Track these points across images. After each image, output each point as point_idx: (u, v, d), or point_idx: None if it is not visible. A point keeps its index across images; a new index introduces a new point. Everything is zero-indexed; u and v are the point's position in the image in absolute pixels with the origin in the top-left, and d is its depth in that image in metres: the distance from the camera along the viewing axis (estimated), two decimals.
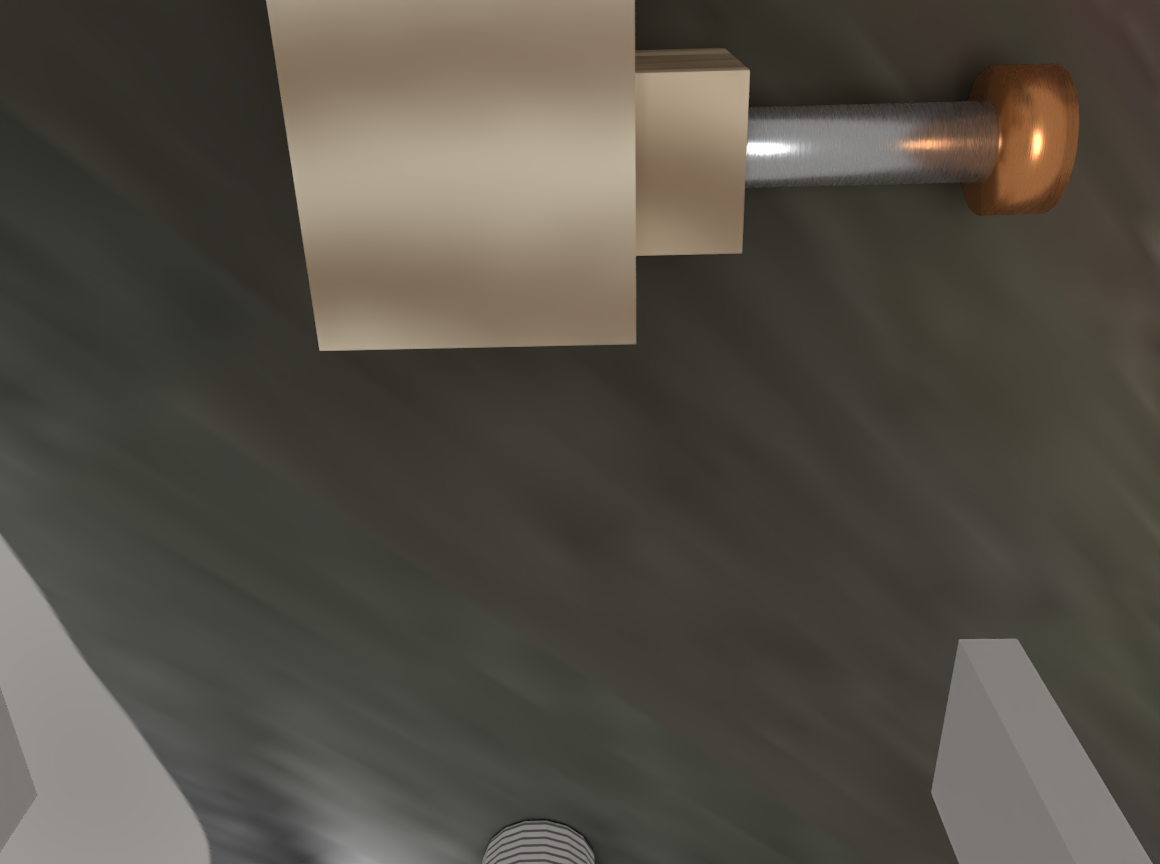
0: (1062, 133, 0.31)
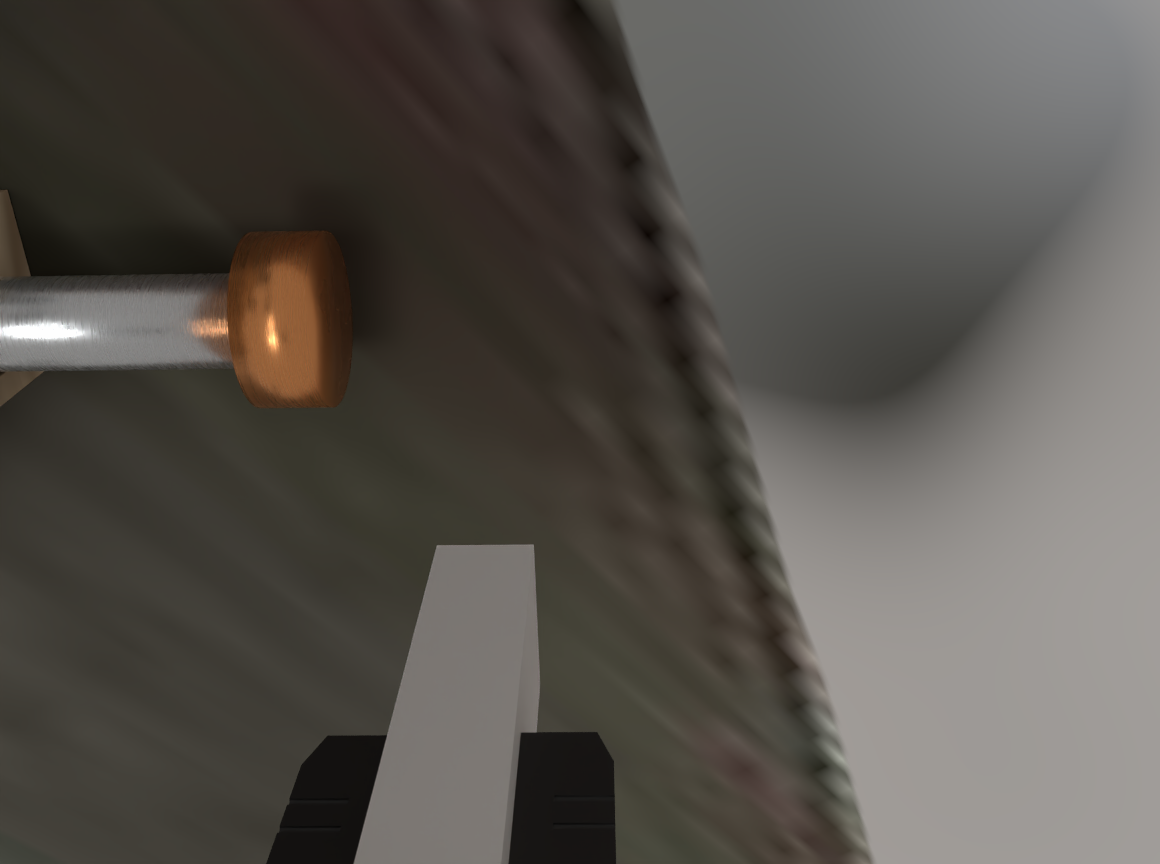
0: (287, 328, 0.25)
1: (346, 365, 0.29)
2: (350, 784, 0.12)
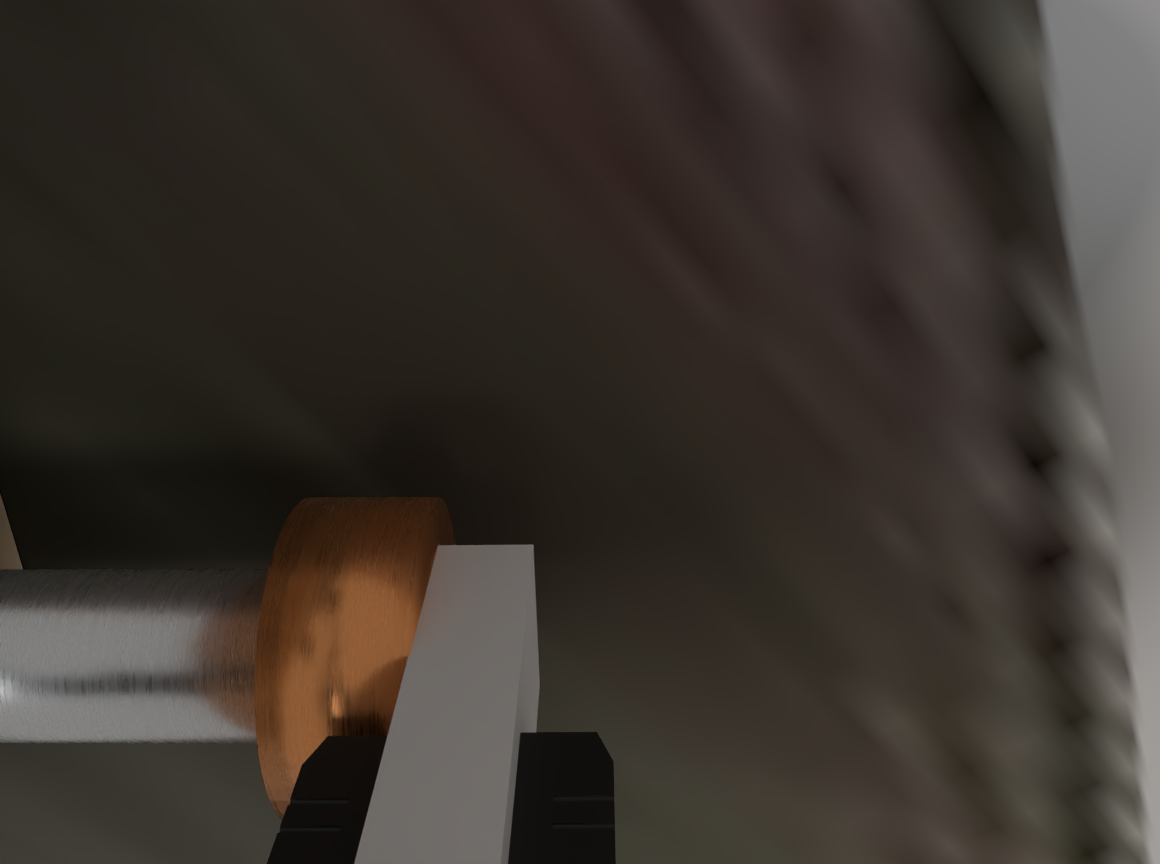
0: (372, 728, 0.13)
1: None
2: (351, 784, 0.12)
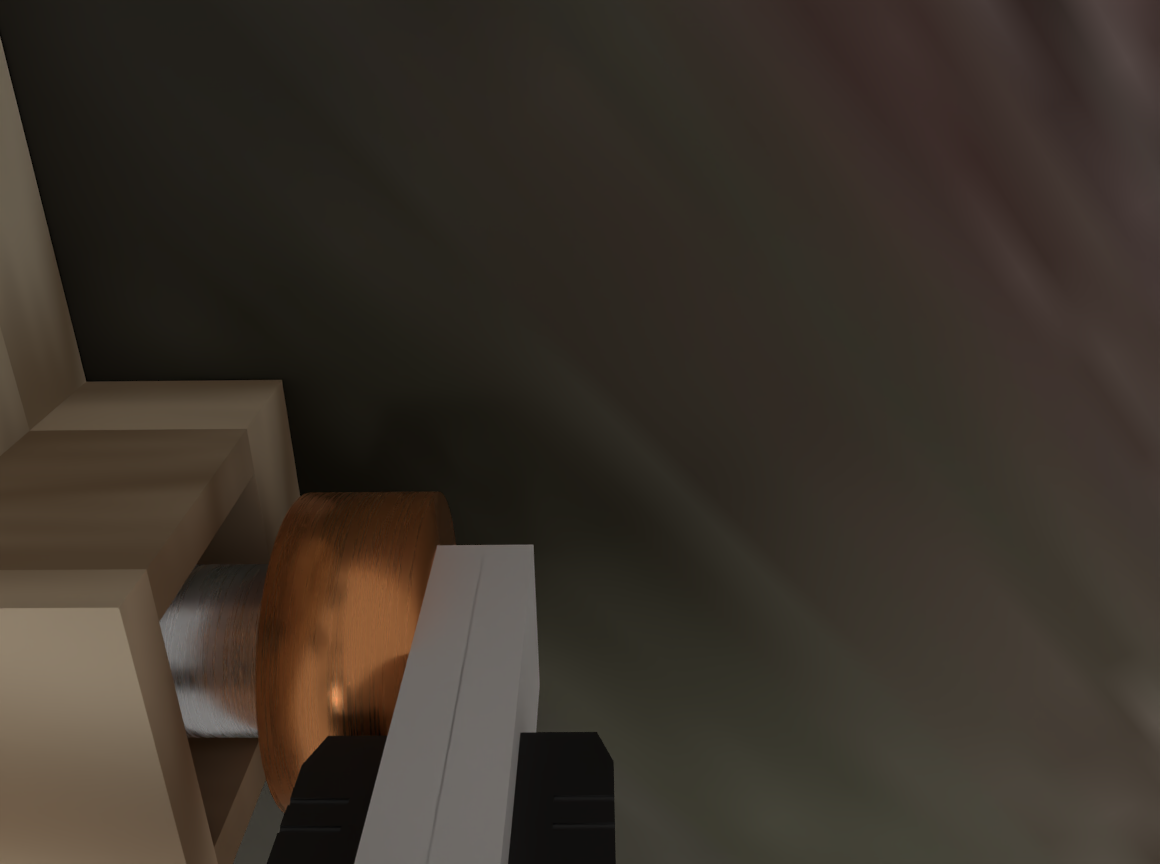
0: (372, 721, 0.13)
1: None
2: (350, 784, 0.12)
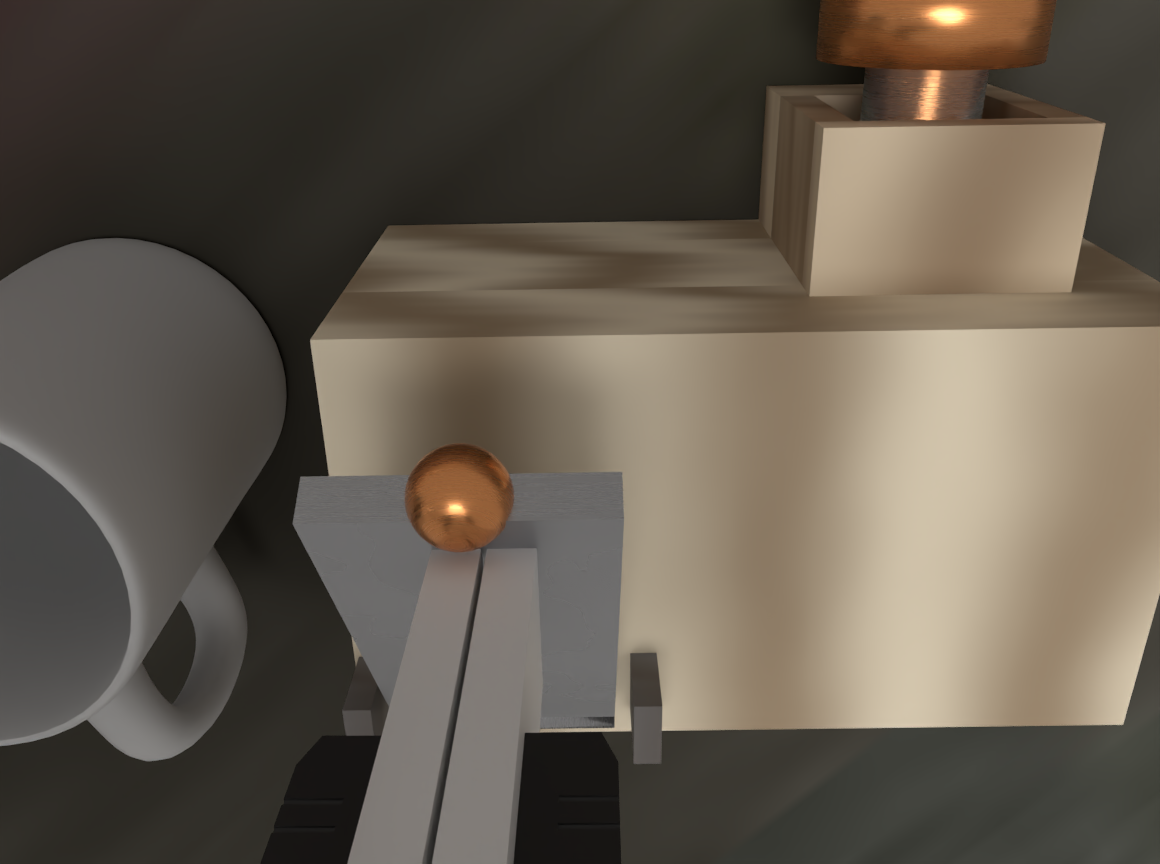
0: None
1: None
2: (345, 784, 0.12)
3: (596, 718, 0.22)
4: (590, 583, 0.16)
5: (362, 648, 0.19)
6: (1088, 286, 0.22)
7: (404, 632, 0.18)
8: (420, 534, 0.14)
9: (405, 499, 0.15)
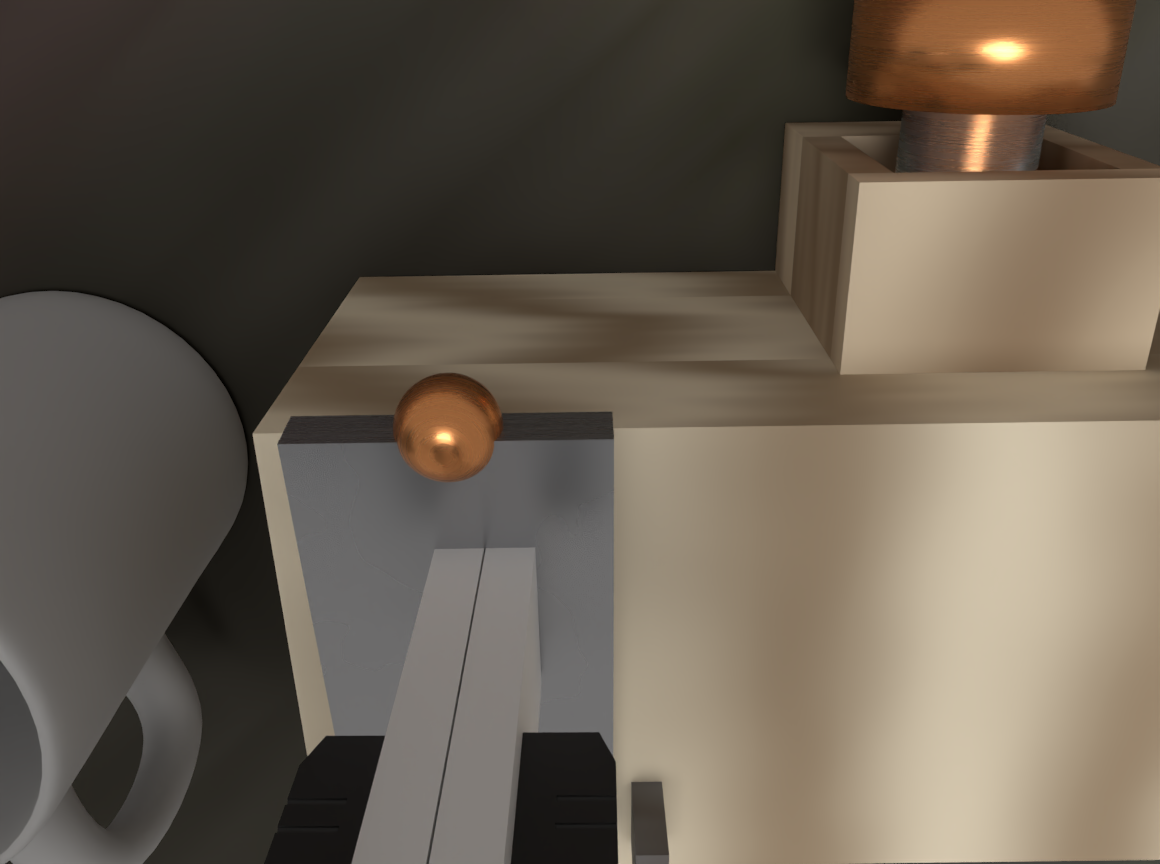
0: (1001, 18, 0.16)
1: None
2: (348, 784, 0.12)
3: None
4: (581, 560, 0.15)
5: (330, 690, 0.17)
6: None
7: (379, 657, 0.16)
8: (406, 450, 0.14)
9: (393, 419, 0.14)
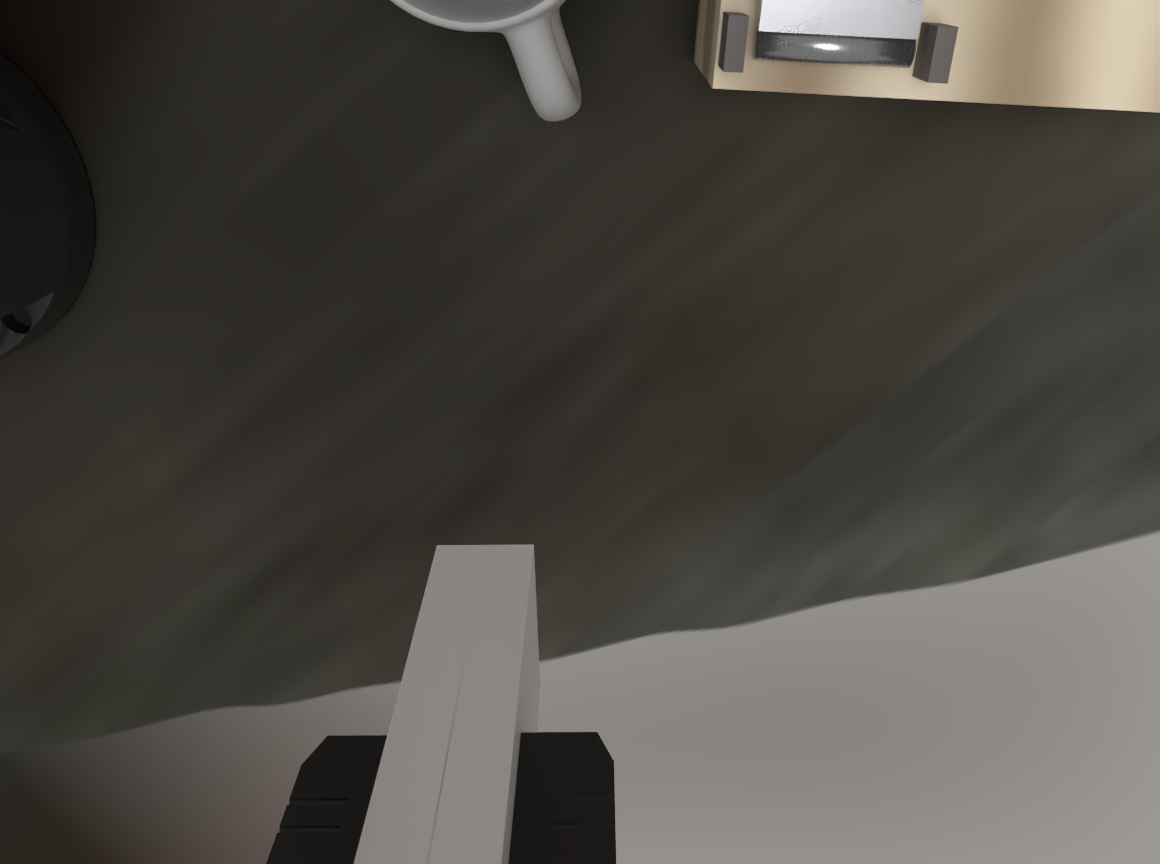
0: None
1: None
2: (350, 784, 0.12)
3: (903, 42, 0.31)
4: None
5: None
6: None
7: None
8: None
9: None
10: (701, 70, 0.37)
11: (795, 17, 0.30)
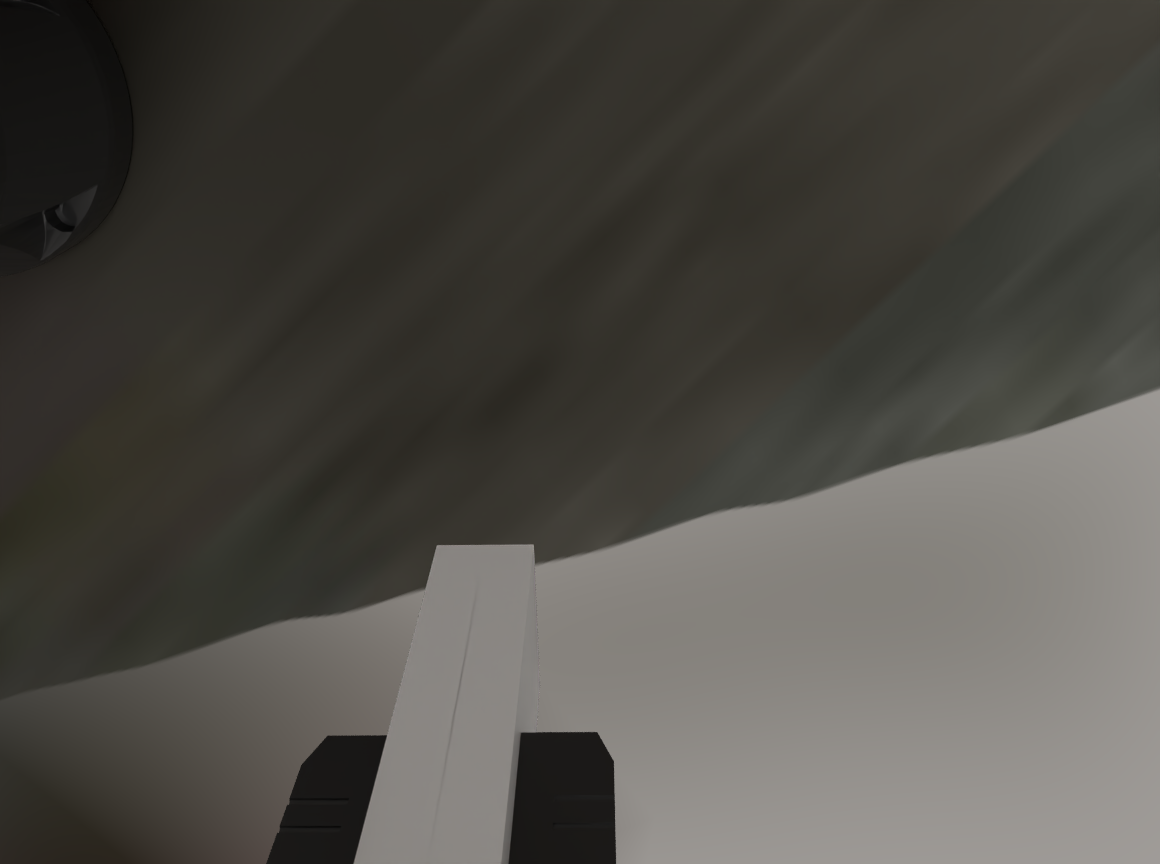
0: None
1: None
2: (350, 784, 0.12)
3: None
4: None
5: None
6: None
7: None
8: None
9: None
10: None
11: None
